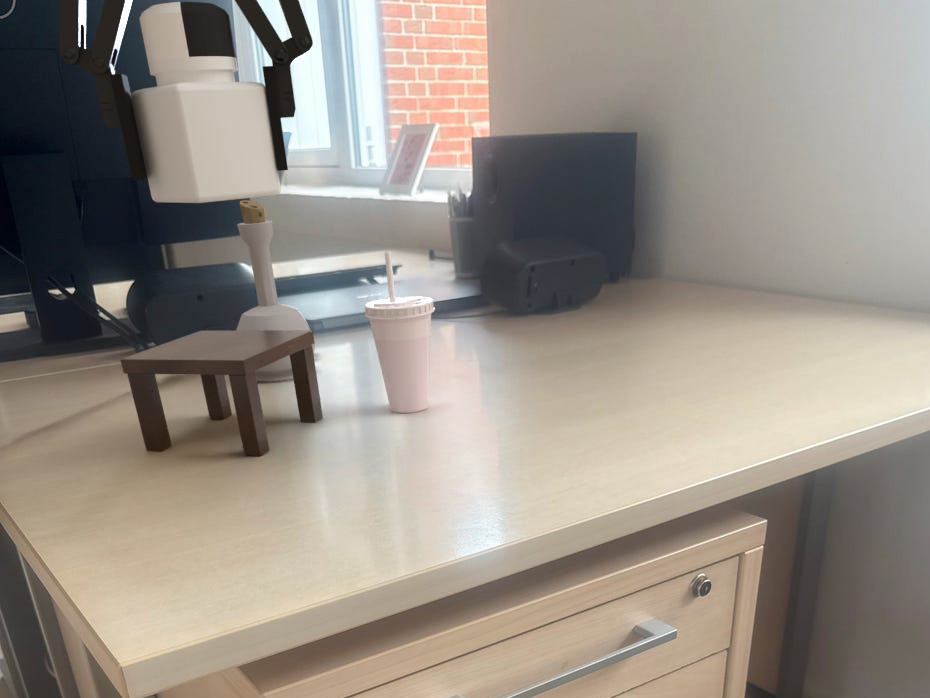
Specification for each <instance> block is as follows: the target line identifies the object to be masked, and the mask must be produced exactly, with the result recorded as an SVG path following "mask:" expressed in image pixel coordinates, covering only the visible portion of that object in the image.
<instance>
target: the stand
mask: <svg viewBox="0 0 930 698" xmlns="http://www.w3.org/2000/svg"><path fill="white" fill-rule="evenodd" d="M314 341H315V337H314V330H311V329H310V330H241V331H236V330H198V331H196V332H193V333H190V334H187V335H185V336H181V337H179V338H176V339H174V340H170V341H168V342H164V343H162V344H159V345H157V346H154V347H151V348H148V349H145V350H142V351H140V352H136V353H134V354H131V355H129V356H126V357H123V358H121V359H119V360H120V364H121V368H122V373H123V374H126V375H127V378H128V382H129V387H130V392H131V395H132V399H133V403H134V408H135V411H136V415H137V418H138V419H137V420H138V422H139V427H140V430H141V434H142V435H141V436H142V438H143V444H144V446H145V447H144V448H145V450H146V451H147V452H163V451H165V450H167V449H169V448H171V447H172V446H173V445H172V441H171V436H170V431H169V428H168V424H167V419H166V414H165V411H164V405H163V402H162V397H161V393H160V390H159V389H160V388H159V386H158V381H157V376H156V375H193V376H194V375H195V376H196V375H197V376H198V375H199V376H200V379H201V383H202V389H203V394H204V398H205V402H206V407H207V413H208V417H209V419H210V420H225V419H227V418H229V417H231V416H233V412H232V407H231V403H230V397H229V391H228V386H227V381H226V376H228V378H229V384H230V389H231V395H232V400H233V404H234V410H235V415H236V419H237V424H238V430H239V435H240V440H241V444H242V450H243V455H244V456H251V457H253V456H254V457H261V456H263V455H264V454H266V453H267V452H269V451H270V445H269V440H268V434H267V430H266V424H265V417H264V412H263V407H262V402H261V396H260V390H259V384H258V381H257V379H256V373H255V371H256V370H258V369H260V368H263V367H265V366H267V365H269V364H271V363H274V362H276V361H278V360H280V359H282V358H284V357H287V356H289V355H290V361H291V367H292V373H293V379H292V380H293V385H294V390H295V397H296V404H297V409H298V415H299V416H298V417H299V421H300V423H317V422H319V421H321V420H322V419H323V418H324V417H323V415H324V414H323V410H322V402H321V396H320V389H319V388H320V387H319V382H318V375H317V368H316V361H315V354H314V355H313V348H312V345H313V344H314V343H315V344H316V341H315V342H314ZM146 451H145V452H146Z"/></svg>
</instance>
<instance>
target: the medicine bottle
mask: <svg viewBox="0 0 930 698" xmlns="http://www.w3.org/2000/svg"><path fill="white" fill-rule="evenodd" d="M138 20H139V24H140V29H141V34H142V39H143V40H142V41H143V44H144V49H145V54H146V60H147V64H148V65H147V66H148V69H149V75H150V76H154V77H155V81H156V86H152V87H146V88H141V89H137V90H134V91H132V92H131V101H132V106H133V111H134V115H135V120H136V125H137V130H138V135H139V139H140V144H141V149H142V154H143V158H144V163H145V168H146V173H147V177H148V179H147V182H148V186H149V191H150V197H151V199H152V201H154V202H155V203H174V204H175V203H179V204H180V203H181V204H182V203H183V204H204V203H213V202H223V201H234V200H241V199H251V198H253V199H254V198H261V197H272V196H279V195H280V193H281V192H282V191H281V190H282V188H281V181H280V180H281V179H280V174H279V171H278V170H277V163H276V156H275V149H274V142H273V135H272V128H271V122H270V115H269V108H268V101H267V94H266V87H265V84H264V83H262V82H257V81H236V77H235V73H236V72H238V71H239V68H238V62H237V55H236V48H235V44H234V43H235V42H234V37H233V30H232V24H231V18H230V14H229V13H228V12H227V11H226V9H224V8H222V7H221V6H218V5H217V4H215V3H211V2H201V1H174V2H173V1H172V2H164V3H158V4H154V5H150V6H149V7H148V8H146V9H145V10H144V11H142V12H141V14H140V16H139V19H138Z"/></svg>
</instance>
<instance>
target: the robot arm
mask: <svg viewBox="0 0 930 698" xmlns="http://www.w3.org/2000/svg"><path fill="white" fill-rule="evenodd" d="M234 2H235V3H236V5H237V7H238V8H239V10H240V11H241V13H242V14H243V16H244V18H245V20H246V21H247V22H248V24H249V26H250V27H251V29H252V31H253V32H254V34H255V35H256V37H257V39H258V40H259V42H260V43H261V45H262V46H263V48H264V50H265V51H266V53H267V55H268V56H269V59H271V65H266V66H265V65H262V66H261V67H262V73H263V80H264V86H265V87H266V94H267V101H268V108H269V115H270V122H271V128H272V135H273V142H274V149H275V156H276V163H277V170H278V172H279V171H280V172H281V171H289V167H288V166H289V165H288V160H287V152H286V146H285V145H286V144H285V139H284V138H285V137H284V132H283V125H282V119H285V118H286V119H287V118H288V119H289V118H294V117H295V113H296V101H295V93H294V86H293V78H292V70H291V67H292V65H293V63H294V62H295V61H296V60H298V59H301V58H302V57H304V56H307V55H308V54H310V53H311V52H312V49H313V46H314V45H313V44H314V42H313V37H312V35H311V32H310V28H309V26H308V23H307V20H306V17H305V15H304V12H303V9H302V6H301V3H300V1H299V0H278V3H279V5H280V8H281V11H282V13H283V16H284V19H285V22H286V25H287V28H288V30H289V33H290V36H291V37H289V38H287V39H286V40H283V41H282V39H281V37H280V36H279V34H278V32H277V30H276V29H275V28H274V26H273V24H272V23H271V21H270V20H269V18H268V16H267V15H266V13H265V11H264V10H263V8H262V6H261V5H260V3H259V1H258V0H234ZM132 3H133V0H104V2H103V6H102V10H101V14H100V17H99V21H98V25H97V30H96V33H95V37H94V41H93V45H92V49H89V48H87V47H86V46H87V44H86V43H87V42H86V41H87V39H86V38H87V36H86V35H87V0H59V3H58V5H59V15H58V16H59V55H60V57H61V59H62V60H63V61H64V62H65V63H68V64H70V65H73V66H75V67H78V68H81V69H85V70H87V71H88V72H89V73H90V74H91V75H92V77H93V79H94V82H95V87H96V91H97V95H98V100H99V104H100V110H101V113H102V118H103V121H104V123H105V125H106V126H107V128H110V129H114V128H115V129H116V128H121V133H122V138H123V141H124V147H125V151H126V155H127V159H128V164H129V170H130V174H131V179H132V181H144V180H148V177H147V173H146V168H145V163H144V158H143V154H142V149H141V144H140V139H139V135H138V130H137V125H136V120H135V115H134V111H133V106H132V101H131V94H132V92H131V88H130V83H129V79H128V75H126V74H123V73H116V70H115V69H116V65H117V60H118V57H119V53H120V49H121V46H122V41H123V38H124V34H125V30H126V26H127V22H128V18H129V15H130V12H131V7H132Z"/></svg>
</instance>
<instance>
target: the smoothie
mask: <svg viewBox="0 0 930 698" xmlns="http://www.w3.org/2000/svg"><path fill="white" fill-rule="evenodd" d="M384 261H385V269H386V278H387V287H388V297H387V298H380V299H375V300H371V301H369V302H367V303H365V304H364V312H365V313H364V314H365V315H364V316H365V318H367V319H368V320H369V323H370V328H371V332H372V333H371V334H372V337H373V340H374V345H375V349H376V354H377V357H378V362H379V366H380V370H381V374H382V379H383V383H384V387H385V391H386V396H387V400H388V404H389V409H390V411H391V412H394V413H400V414H409V413H416V412H421V411H424V410H426V409H428V408H429V405H430V373H431V337H432V336H431V334H432V313H434V312H435V310H436V308H435V307H434V306H435V305H434V299H432V298H431V297H427V296H419V295H418V296H417V295H413V296H412V295H411V296H409V295H407V296H406V295H405V296H396V289H395V280H394V269H393V262H392V261H393V260H392V251H391V250H385V251H384Z"/></svg>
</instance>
